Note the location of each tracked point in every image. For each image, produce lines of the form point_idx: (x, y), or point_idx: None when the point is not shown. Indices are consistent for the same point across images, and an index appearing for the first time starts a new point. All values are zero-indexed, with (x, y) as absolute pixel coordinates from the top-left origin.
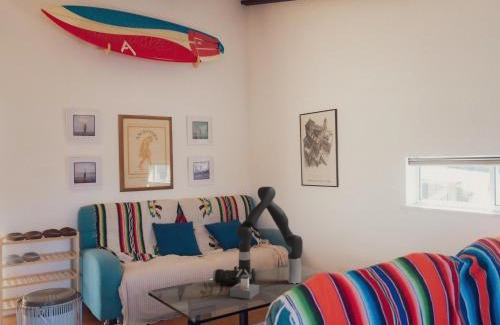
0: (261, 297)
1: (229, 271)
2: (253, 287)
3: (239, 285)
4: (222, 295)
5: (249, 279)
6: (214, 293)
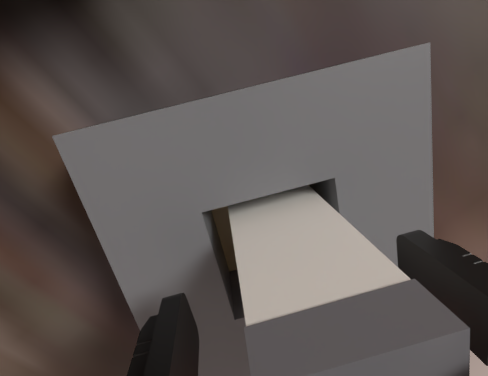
0: (451, 171)
1: None
2: (407, 201)
3: (180, 258)
4: (111, 354)
5: (474, 352)
6: (2, 366)
